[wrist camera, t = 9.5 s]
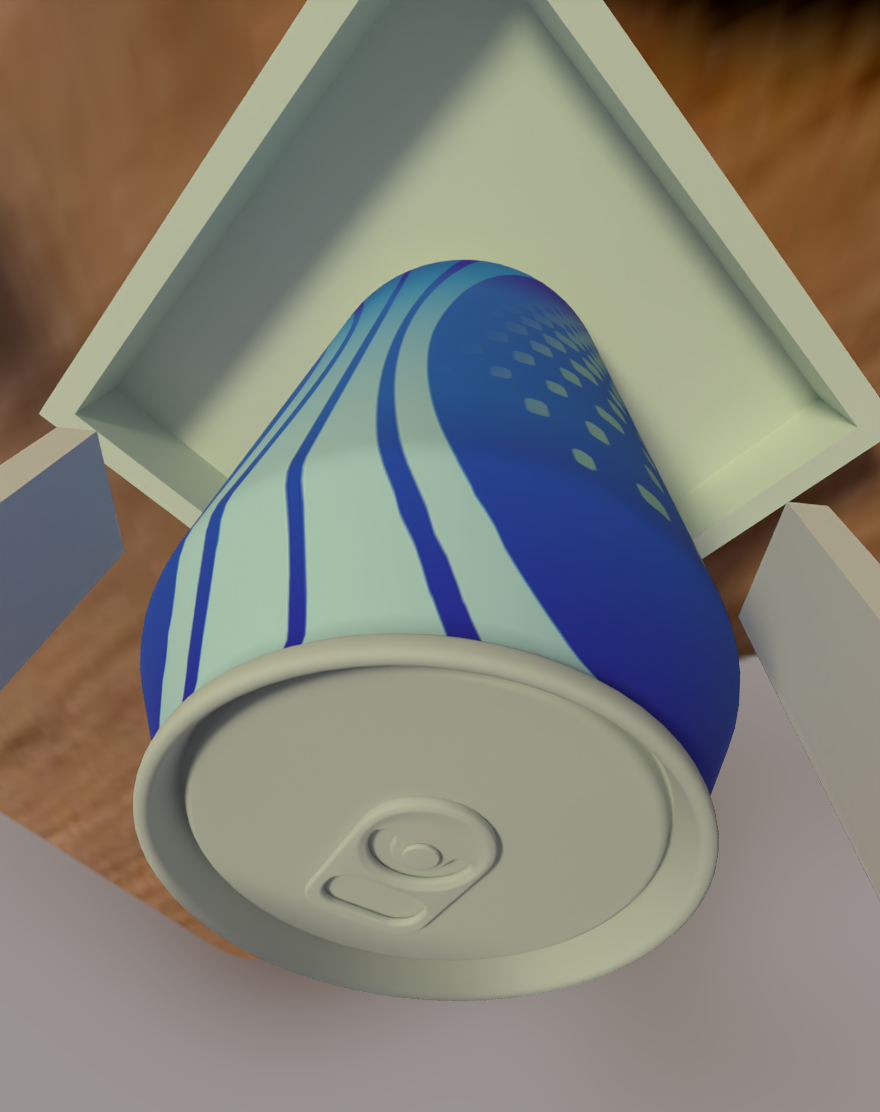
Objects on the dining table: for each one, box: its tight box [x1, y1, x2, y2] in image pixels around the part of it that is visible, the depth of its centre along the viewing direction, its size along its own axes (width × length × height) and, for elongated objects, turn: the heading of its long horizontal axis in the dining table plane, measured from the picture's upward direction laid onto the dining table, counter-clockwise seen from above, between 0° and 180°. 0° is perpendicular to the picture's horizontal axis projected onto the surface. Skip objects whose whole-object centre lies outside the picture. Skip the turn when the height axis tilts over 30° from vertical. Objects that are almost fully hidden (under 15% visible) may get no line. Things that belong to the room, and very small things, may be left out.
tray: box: [39, 0, 880, 559], centre depth 20 cm, size 18×18×3 cm
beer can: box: [133, 260, 740, 1001], centre depth 14 cm, size 8×8×16 cm
